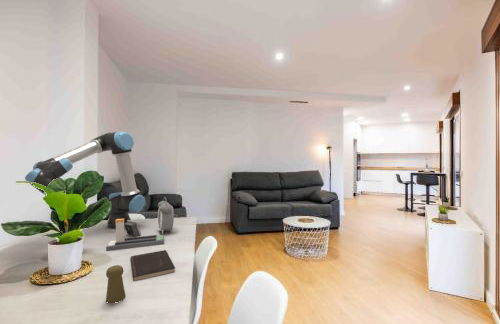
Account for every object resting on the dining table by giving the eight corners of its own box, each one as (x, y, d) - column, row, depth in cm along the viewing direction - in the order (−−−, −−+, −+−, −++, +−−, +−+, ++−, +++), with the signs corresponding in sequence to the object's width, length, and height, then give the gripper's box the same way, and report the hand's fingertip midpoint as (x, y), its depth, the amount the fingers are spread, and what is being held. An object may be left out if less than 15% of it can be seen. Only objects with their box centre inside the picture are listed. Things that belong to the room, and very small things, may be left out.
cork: (127, 299, 87) (126, 267, 87) (106, 306, 83) (105, 272, 83) (124, 292, 92) (122, 261, 92) (104, 297, 88) (103, 266, 88)
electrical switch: (141, 235, 157) (139, 220, 156) (133, 238, 153) (131, 223, 152) (132, 233, 162) (130, 218, 161) (124, 236, 158) (122, 221, 157)
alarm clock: (156, 229, 169) (155, 196, 169) (170, 227, 173) (169, 194, 172) (160, 236, 155) (159, 199, 154) (175, 233, 159) (174, 198, 158)
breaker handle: (117, 241, 140) (116, 219, 139) (125, 240, 141) (124, 218, 141) (116, 243, 136) (115, 220, 136) (123, 242, 138) (123, 219, 137)
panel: (110, 244, 142) (110, 239, 142) (163, 238, 150) (163, 233, 150) (106, 250, 132) (106, 245, 132) (163, 244, 141) (163, 238, 141)
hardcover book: (166, 254, 128) (166, 249, 127) (175, 273, 107) (175, 267, 107) (130, 261, 120) (130, 256, 120) (133, 282, 100) (133, 276, 100)
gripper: (56, 197, 135) (94, 226, 140) (45, 201, 122) (87, 233, 128) (68, 187, 136) (104, 215, 141) (58, 190, 124) (98, 221, 129)
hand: (96, 224), depth 135 cm, fingers closed
